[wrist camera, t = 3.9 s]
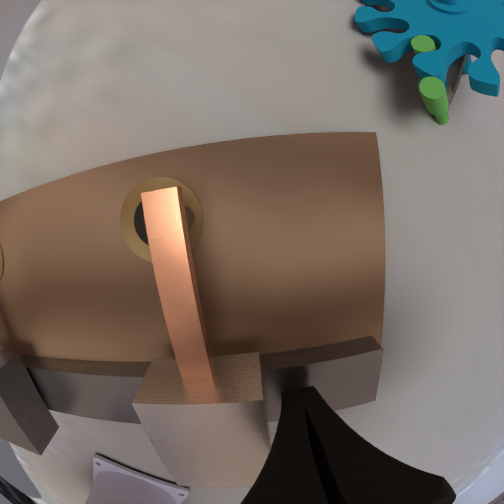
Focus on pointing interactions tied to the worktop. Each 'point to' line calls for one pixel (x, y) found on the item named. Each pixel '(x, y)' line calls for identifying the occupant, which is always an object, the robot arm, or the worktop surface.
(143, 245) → the hole board
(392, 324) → the worktop surface
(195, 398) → the slider
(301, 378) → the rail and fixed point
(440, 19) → the gear
